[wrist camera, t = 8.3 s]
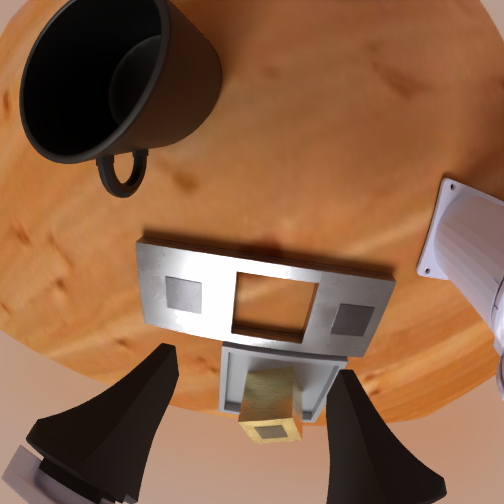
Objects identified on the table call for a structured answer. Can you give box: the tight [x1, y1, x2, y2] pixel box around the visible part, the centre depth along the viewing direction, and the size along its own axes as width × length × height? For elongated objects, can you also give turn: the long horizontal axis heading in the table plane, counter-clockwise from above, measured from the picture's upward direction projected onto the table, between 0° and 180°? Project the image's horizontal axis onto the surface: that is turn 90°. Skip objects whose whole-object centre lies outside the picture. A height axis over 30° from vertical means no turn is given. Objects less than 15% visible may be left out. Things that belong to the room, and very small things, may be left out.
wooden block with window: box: [238, 366, 302, 443], centre depth 22 cm, size 5×5×6 cm
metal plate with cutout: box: [136, 237, 396, 357], centre depth 21 cm, size 20×8×1 cm, turn 84°
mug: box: [19, 0, 222, 198], centre depth 12 cm, size 9×12×9 cm
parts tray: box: [219, 341, 348, 423], centre depth 25 cm, size 11×11×2 cm
